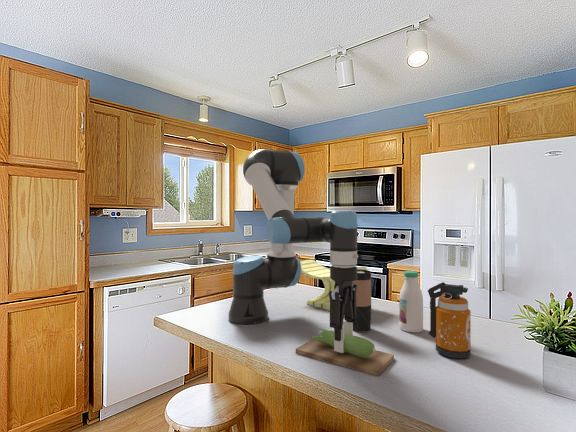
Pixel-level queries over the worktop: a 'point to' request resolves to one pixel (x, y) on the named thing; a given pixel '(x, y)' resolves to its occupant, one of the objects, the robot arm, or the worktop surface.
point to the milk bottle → (411, 304)
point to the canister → (450, 320)
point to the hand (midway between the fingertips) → (343, 347)
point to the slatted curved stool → (320, 272)
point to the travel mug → (363, 301)
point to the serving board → (346, 357)
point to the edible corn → (348, 343)
